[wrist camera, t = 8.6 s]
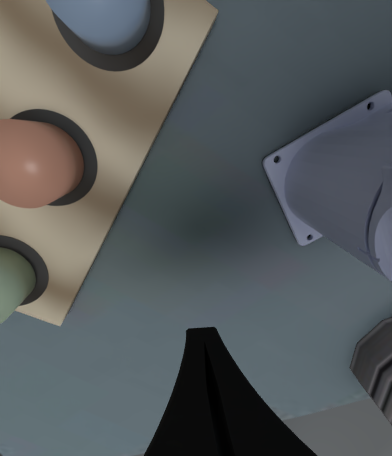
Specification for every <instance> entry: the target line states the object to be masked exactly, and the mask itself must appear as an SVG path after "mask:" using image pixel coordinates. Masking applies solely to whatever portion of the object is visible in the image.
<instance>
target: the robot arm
mask: <svg viewBox="0 0 392 456" xmlns="http://www.w3.org/2000/svg"><path fill="white" fill-rule="evenodd" d="M368 103H369V104H370V108H369V110H368V109H367V105H368ZM275 156H278V157H279V160H278V162H276V163H275V162H274V157H275ZM262 164H263V167H264V170H265V172H266V174H267V176H268V179H269V181H270V183H271V185H272V188H273V190H274V192H275V194H276V197H277V199H278V201H279V203H280V206H281V208H282V210H283V212H284V215H285V217H286V219H287V221H288V223H289V226H290V228H291V230H292V232H293V235H294V237H295V239H296V241H297V243H298V244H299V245H301V246H305V245H307V244H309V243H311V242H313V241H315V240H317V239H319V238H320V237H322V236H325V237H326V238H328V239H329V240H331V241H332V242H334V243H335V244H337V245H338V246H340V247H341V248H343V249H344V250H346V251H347V252H349V253H350V254H351V255H353V256H354V257H356V258H357V259H359V260H360V261H362V262H363V263H365V264H366V265H368V266H369V267H371V268H372V269H374V270H375V271H377V272H378V273H380V274H381V275H383V276H384V277H386V278H387V279H388V280H390V281H391V282H392V95H391V93H390V91H388V90H383V91H379V92H378V93H376V94H374V95H372V96H371V97H369V98H367V99H365V100H364V101H362V102H360V103H358V104H357V105H355V106H353V107H351V108H350V109H348V110H346V111H345V112H343V113H341V114H339V115H338V116H336V117H334V118H332V119H331V120H329V121H327V122H325V123H324V124H322V125H320V126H318V127H317V128H315V129H313V130H312V131H310V132H308V133H306V134H305V135H303V136H301V137H299V138H298V139H296V140H294V141H292V142H291V143H289V144H287V145H285V146H284V147H282V148H280V149H279V150H277V151H275V152H273V153H272V154H270V155H268V156H266V157H265V158H264V160H263V163H262ZM310 234H311V236H310V237H309V238H307V236H308V235H310ZM144 456H317V455H316V454H315V453H314V452H313V451H312V450H311V449H310V448H309V447H308V446H307V445H305V444H304V443H303V442H302V441H301V440H300V439H299V438H298V437H297V436H296V435H295V434H294V433H293V432H292V431H291V430H290V429H289V428H288V427H287V426H286V425H285V424H284V423H283V422H282V421H281V420H280V418H279V417H278V416H277V415H276V414H275V413H274V412H273V411H272V410H271V409H270V407H269V406H268V405H267V404H266V403H265V402H264V400H263V399H262V398H261V397H260V396H259V394H258V393H257V392H256V391H255V389H254V388H253V387H252V386H251V384H250V383H249V382H248V380H247V379H246V377H245V376H244V375H243V373H242V372H241V370H240V369H239V367H238V366H237V364H236V363H235V361H234V360H233V358H232V357H231V355H230V353H229V352H228V350H227V348H226V347H225V345H224V343H223V341H222V339H221V337H220V335H219V333H218V331H217V329H216V328H215V327H206V328H190V329H188V330H186V344H185V349H184V354H183V358H182V362H181V366H180V370H179V373H178V376H177V380H176V383H175V386H174V389H173V392H172V394H171V397H170V400H169V402H168V405H167V407H166V410H165V412H164V414H163V417H162V419H161V421H160V424H159V426H158V428H157V430H156V432H155V434H154V437H153V439H152V441H151V443H150V445H149V447H148V448H147V450H146V452H145V454H144Z"/></svg>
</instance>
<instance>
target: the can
mask: <svg viewBox="0 0 392 456" xmlns="http://www.w3.org/2000/svg"><path fill="white" fill-rule="evenodd" d="M350 369H351V371H352V372H353V374H354V375H355V376H356V378H357V379H358V381H359V382H360V384H361V385H362V386H363V388H364V389H365V390H366V392H367V393H368V394H369V396H370V397H371V398H372V400H373V401H374V402H375V404H376V405H377V406H378V408H379V409H380V410H381V412H382V413H383V414H384V416H385V417H386V418H387V420H388V421H389V422H390V424H391V425H392V317H391V318H388V319H385V320H382V321H381V322H380V323H379V324H378V325H377V326H375V327H374V328H373V329H372V330H371V331H370V332H369V333H368V334H367V335H365V336H364V337H363V338H362V339H361V340H360V341H359V342H358V343H357V344H356V348H355V351H354V354H353V358H352V361H351V365H350Z"/></svg>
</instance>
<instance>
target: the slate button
mask: <svg viewBox="0 0 392 456" xmlns="http://www.w3.org/2000/svg"><path fill="white" fill-rule="evenodd" d="M46 2H47V4H48V5H49V6H50V8H51V9H52V10H53V12H54V13H55V14H56V15H57V16H58V17H59V18H60V19H61V20H62V21H63V22H64V23H65V24H66V25H67V27H68V28H69V29H70V30H71V31H72V32H73V33H74V34H75V35H76V36H77V37H78V38H79V39H80V40H81V41H82V42H83V43H84V44H86V45H87V46H88V47H90V48H91V49H93V50H95V51H97V52H100V53H103V54H108V55H118V54H123V53H125V52H128V51H130V50H131V49H133V48H134V47H135V46H136V45H137V44H138V43H139V42H140V41H141V40H142V38H143V37H144V35H145V33H146V30H147V28H148V24H149V20H150V0H46Z"/></svg>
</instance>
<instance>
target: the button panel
mask: <svg viewBox="0 0 392 456" xmlns="http://www.w3.org/2000/svg"><path fill="white" fill-rule="evenodd" d="M217 14H218V10H217V9H216V8H214V7H213V6H212V5H211V4H209V3H208V2H207V1H206V0H150V20H149V24H148V28H147V30H146V33H145V35H144V37H143V38H142V40H141V41H140V42H139V43H138V44H137V45H136V46H135V47H134V48H133V49H131V50H130V51H128V52H125V53H123V54H118V55H108V54H103V53H100V52H97V51H95V50H93V49H91V48H90V47H88V46H87V45H86V44H84V43H83V42H82V41H81V40H80V39H79V38H78V37H77V36H76V35H75V34H74V33H73V32H72V31H71V30H70V29H69V28H68V27H67V25H66V24H65V23H64V22H63V21H62V20H61V19H60V18H59V17H58V16H57V15H56V14H55V13H54V12H53V10H52V9H51V8H50V6H49V5H48V4H47V2H46V0H0V120H1V119H16V120H26V121H36V122H45V123H49V124H52V125H55V126H57V127H59V128H61V129H62V130H64V131H65V132H66V133H68V134H69V135H70V136H71V137H72V138H73V139H74V141H75V142H76V143H77V145H78V147H79V149H80V151H81V153H82V156H83V161H84V172H83V176H82V179H81V181H80V183H79V184H78V186H77V187H76V188H75V189H74V190H73V191H71V192H70V193H68V194H66V195H64V196H62V197H60V198H59V199H57V200H55V201H53V202H51V203H49V204H47V205H45V206H42V207H38V208H20V207H16V206H13V205H10V204H7V203H5V202H3V201H2V200H0V247H2V248H7V249H10V250H12V251H14V252H17V253H18V254H20V255H21V256H23V257H24V258H25V259H26V260H27V261H28V262H29V263H30V264H31V266H32V268H33V270H34V272H35V276H36V283H35V287H34V289H33V290H32V292H31V293H30V294H29V295H28V296H27V297H26V298H25V300H24V301H23V302H22V303H21V304H20V305H19V306H18V307H17V308H16V309H15V311H18V312H21V313H23V314H26V315H29V316H32V317H35V318H38V319H40V320H43V321H46V322H49V323H52V324H55V325H57V326H61V324H62V322H63V321H64V319H65V317H66V316H67V314H68V312H69V310H70V308H71V306H72V304H73V302H74V300H75V298H76V296H77V294H78V292H79V290H80V288H81V286H82V284H83V282H84V280H85V278H86V276H87V274H88V272H89V270H90V268H91V266H92V264H93V262H94V260H95V258H96V256H97V255H98V253H99V251H100V249H101V247H102V245H103V243H104V241H105V239H106V237H107V235H108V233H109V231H110V229H111V227H112V225H113V223H114V221H115V219H116V217H117V215H118V213H119V211H120V209H121V207H122V205H123V203H124V201H125V199H126V197H127V195H128V193H129V191H130V189H131V187H132V185H133V183H134V181H135V179H136V177H137V175H138V173H139V171H140V169H141V167H142V165H143V163H144V161H145V159H146V157H147V155H148V153H149V151H150V149H151V147H152V145H153V143H154V141H155V139H156V137H157V135H158V134H159V132H160V130H161V128H162V126H163V124H164V122H165V120H166V118H167V116H168V114H169V112H170V110H171V108H172V106H173V104H174V102H175V100H176V98H177V96H178V94H179V92H180V90H181V88H182V86H183V84H184V82H185V80H186V78H187V76H188V74H189V72H190V70H191V68H192V66H193V64H194V62H195V60H196V58H197V56H198V54H199V52H200V50H201V48H202V46H203V44H204V42H205V40H206V38H207V36H208V34H209V32H210V30H211V28H212V26H213V24H214V22H215V20H216V17H217Z"/></svg>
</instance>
